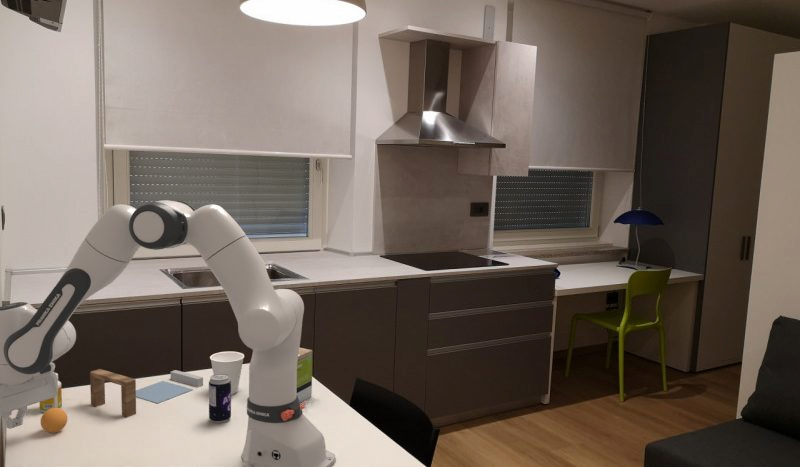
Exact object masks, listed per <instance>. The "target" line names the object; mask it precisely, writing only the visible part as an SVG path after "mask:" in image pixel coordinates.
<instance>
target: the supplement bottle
mask: <svg viewBox="0 0 800 467" xmlns="http://www.w3.org/2000/svg"><path fill="white" fill-rule="evenodd" d="M55 373H56V376H57V381H58V393H57V395H56V396H55V397H54V398H51V399H48V400H45V401H42V402H39V411H40V412H41V413H45V412H46V411H47V410H49V409H51V408H60V409H62V408H63V400H62V399H63V397H62V396H63V395H62V394H63V393H62V391H63V390H62V382H61V381H60V380H59V374H58V373H57V372H55Z"/></svg>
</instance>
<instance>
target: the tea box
mask: <svg viewBox="0 0 800 467" xmlns="http://www.w3.org/2000/svg"><path fill="white" fill-rule="evenodd" d="M312 388H313V350H312V349H309V348H308V349H307V348H304V347H299V354H298V361H297V396H298V398H299V401H300V404H301V403H302V402H304V401H306V400H308V399H309V398H311V397H312V396H313V395H312V392H313V391H312V390H313V389H312Z"/></svg>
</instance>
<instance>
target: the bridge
mask: <svg viewBox="0 0 800 467" xmlns="http://www.w3.org/2000/svg"><path fill="white" fill-rule="evenodd" d="M89 379H90V380H89V381H90V382H89V384H90V386H89V388H90V406H91V407H94V408H97V407H99V406H102V405H105V404H106V385H105V382H109V383H112V384H114V385H118V386H120V387H121V388H120V391H121V392H120V394H121V395H120V396H121V416H122V417H124V418H129V417H132V416H134V415H136V414H137V397H136V390H137V389H136V388H137V386H136V385H137V384H136V383H137V382H136V379H135V378H133V377H129V376H126V375H123V374H118V373H115V372H111V371H109V370H105V369H102V368H98V369H95V370H91V371H90V372H89Z"/></svg>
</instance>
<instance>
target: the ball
mask: <svg viewBox="0 0 800 467" xmlns="http://www.w3.org/2000/svg"><path fill="white" fill-rule="evenodd" d="M67 423H68V414H67V413H66V411H65V410H64V409H62V408H61V409H60V408H51V409H49V410H47V411H46V412H43V414H42V415H41V418H40V426H41V428H42V429H43V430H44V431H45V432H47V433H57V432H60V431H62V430H63V429H64V428H65V426H66V425H67Z"/></svg>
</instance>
